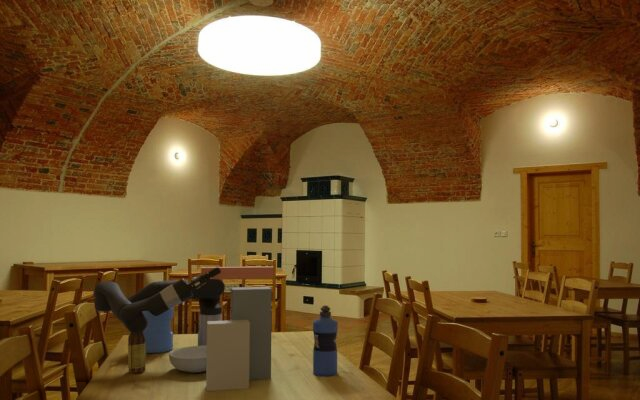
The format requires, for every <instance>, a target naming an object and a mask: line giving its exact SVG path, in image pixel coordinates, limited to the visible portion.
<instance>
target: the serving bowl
mask: <svg viewBox="0 0 640 400" xmlns="http://www.w3.org/2000/svg"><path fill="white" fill-rule="evenodd" d="M168 358H169V362H170V364H171V366H172V367H174V368H175V369H176V370H179V371H182V372H187V373H192V374H195V373H204V372H206V365H207V346H198V345H193V346H192V345H191V346H185V347H180V348H176V349H172V350H170V351H169V353H168Z"/></svg>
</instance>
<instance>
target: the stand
mask: <svg viewBox="0 0 640 400" xmlns="http://www.w3.org/2000/svg"><path fill="white" fill-rule="evenodd" d="M272 291H273V288H271V287H270V286H249V287H248V286H246V287H245V286H243V287H242V286H240V287H239V286H238V287H230V320H222V321H207V365H206V371H205V372H206V376H205V377H206V379H205V380H206V381H205V383H206V385H205V388H206V392H213V391H214V392H215V391H230V390H244V389H250V381H253V380H254V381H255V380H270V379H272V319H273V318H272V316H273V315H272V308H273V307H272V299H273V297H272V295H273V294H272V293H273V292H272Z"/></svg>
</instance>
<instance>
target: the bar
mask: <svg viewBox="0 0 640 400" xmlns="http://www.w3.org/2000/svg"><path fill="white" fill-rule="evenodd" d="M215 268H217V267H216V266H201V267H200V274H201V275H204V274H206V273H207V272H210V271H212V270H213V269H215ZM218 268H219V269H220V271H221V272H220V273H219V274H217V275H216V276H214V277H212V278H211V279H221V280H233V279H234V280H235V279H237V280H238V279H240V280H241V279H243V280H244V279H247V280H248V279H274V278H275V275H274V274H275V273H274V272H275V271H274V269H275V268H274V266H272V265H269V266H266V265H265V266H262V265H261V266H260V265H259V266H218ZM204 278H205V277H204ZM205 279H206V278H205Z"/></svg>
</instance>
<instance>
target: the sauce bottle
mask: <svg viewBox="0 0 640 400" xmlns="http://www.w3.org/2000/svg"><path fill="white" fill-rule="evenodd" d="M127 340H128V341H127V357H128V358H127V359H128V362H127V363H128V364H127V366H128V367H127V368H128V372H129V373H131V372H134V373H133V374H139V373H138V372H140V373H143V372H145V371H146V366H147V362H146V359H147V358H146V355H147V353H146V351H145V348H146V347H145V337H144V334H143V331H142V332H140V333H131V332H130V333H129V335H128V338H127Z"/></svg>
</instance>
